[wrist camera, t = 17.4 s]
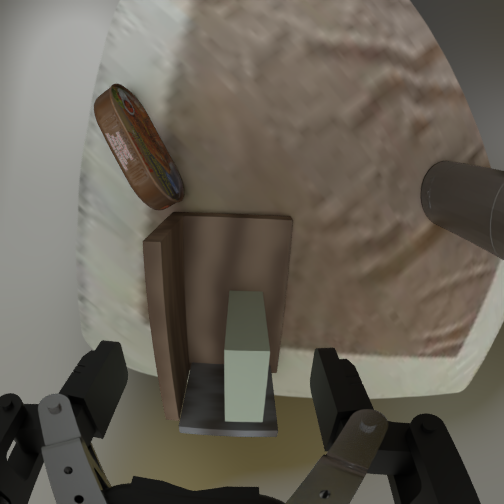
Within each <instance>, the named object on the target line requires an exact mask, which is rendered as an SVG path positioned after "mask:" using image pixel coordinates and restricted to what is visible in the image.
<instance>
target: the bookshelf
mask: <svg viewBox="0 0 504 504" xmlns="http://www.w3.org/2000/svg"><path fill="white" fill-rule="evenodd" d="M292 227H293V220H292V218H291V217H288V216H269V215H248V214H222V213H190V212H173V213H172V214H171V215H170V216H169V217H168V218H166V219H165V220H164V221H163V222H162V223H161V224H160V225H159V226H158V227H157V228H156V229H155V230H154V231H153V232H152V233H151V234H150V235H149V236H148V237H147V238H146V239H145V240H144V241H143V254H144V268H145V280H146V291H147V301H148V310H149V319H150V327H151V334H152V342H153V349H154V355H155V362H156V368H157V374H158V380H159V386H160V391H161V396H162V401H163V407H164V411H165V416H166V419H168V420H177V421H179V419H180V423H179V430H180V432H181V433H190V434H203V435H216V436H240V437H276V436H277V433H278V427H277V417H276V409H275V400H274V391H273V383H272V374H271V373H277V366H278V358H279V350H280V342H281V334H282V325H283V317H284V308H285V299H286V289H287V280H288V270H289V260H290V249H291V238H292ZM230 291H258V292H263V298H264V306H265V314H266V322H267V330H268V338H269V346H270V357H269V367H268V377H267V387H266V396H265V405H264V414H263V422H229V421H225V384H224V348H225V336H226V325H227V314H228V303H229V292H230ZM189 371H190V374H189ZM188 375H189V379H188ZM187 380H188V383H187ZM186 385H187V388H186ZM185 390H186V393H185ZM184 394H185V398H184ZM183 399H184V403H183ZM182 404H183V408H182ZM181 409H182V413H181ZM180 414H181V418H180Z"/></svg>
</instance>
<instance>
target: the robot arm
mask: <svg viewBox="0 0 504 504" xmlns="http://www.w3.org/2000/svg"><path fill="white" fill-rule="evenodd" d="M421 200H422V206H423V209H424V212H425V213H426V215H427V217H428V218H429V219H430V221H432V222H433V223H435V224H436V225H438V226H440V227H443V228H445V229H447V230H449V231H450V232H452V233H454V234H456V235H458V236H460V237H462V238H464V239H466V240H468V241H470V242H472V243H474V244H475V245H477V246H479V247H481V248H483V249H485V250H486V251H488V252H490V253H492V254H494V255H495V256H497V257H499V258H501V259H502V260H504V171H501V170H496V169H491V168H486V167H481V166H475V165H469V164H464V163H458V162H451V161H442V162H439V163H437V164H435V165H434V166H433V167H432V168H431V169H430V170H429V171H428V173H427V174H426V176H425V179H424V181H423V185H422V189H421ZM77 365H78V366H76V367H75V369H74V370H73V371H74V372H72V373H71V375H70V376H69V378H68V380H67V381H66V383H65V384H64V386H63V387H62V389H61V390H60V392H59V394H51V395H48V396H46V397H45V398H43V399H42V400H41V401H40V403H39V404H23V402H22V400H21V399H20V397H19V396H18V395H16V394H11V393H10V394H5V395H3V396H1V397H0V504H28V501H29V498H30V496H31V493H32V490H33V488H34V485H35V482H36V480H37V477H38V475H39V472H40V470H41V467H42V465H43V463H45V466H46V470H47V474H48V477H49V481H50V484H51V488H52V491H53V494H54V497H55V500H56V503H57V504H349V503H350V502H351V500H352V498H353V497H354V495H355V493H356V491H357V490H358V488H359V486H360V484H361V483H362V481H363V479H364V477H365V475H366V473H370V474H384V475H387V476H388V480H389V483H390V487H391V491H392V495H393V498H394V502H395V504H481V503H480V501H479V498H478V496H477V493H476V491H475V489H474V486H473V484H472V482H471V479H470V477H469V475H468V473H467V470H466V468H465V466H464V464H463V461H462V459H461V457H460V455H459V453H458V451H457V449H456V447H455V444H454V442H453V440H452V438H451V436H450V434H449V432H448V430H447V428H446V426H445V424H444V423H443V421H442V420H441V419H440V418H439V417H437V416H435V415H432V414H420V415H417V416H416V417H415V418H413V420H412V422H411V423H398V422H390V421H387V419H386V417H385V416H384V415H383V414H382V413H380V412H378V411H376V410H374V409H373V406H372V404H371V402H370V399H369V397H368V395H367V393H366V390H365V388H364V386H363V384H362V381H361V379H360V377H359V374H358V372H357V370H356V368H355V366H354V365H353V364H352V363H351V362H350V361H349V360H347V359H339V358H338V355H337V353H336V350H335V348H316V349H315V352H314V358H313V364H312V371H311V377H310V388H311V394H312V398H313V402H314V406H315V410H316V414H317V418H318V423H319V427H320V432H321V436H322V440H323V445H324V449H325V451H328V453H327V454H326V455H323V456H322V457H321V458H320V459H319V461H318V462H317V463H316V465H315V466H314V468H313V469H312V470H311V472H310V473H309V474H308V476H307V477H306V478H305V480H304V481H303V482H302V483H301V485H300V486H299V487H298V489H297V490H296V491H295V492H294V494H293V495H292V496H291V497H290V499H289V500H288V501H287V502H286V503H284V502H282V501H280V500H278V499H275V498H273V497H269V496H266V495H260V494H259V487H221V488H214V489H208V490H199V491H191V490H187V489H184V488H181V487H178V486H175V485H172V484H170V483H167V482H164V481H160V480H154V479H147V478H142V477H136V476H133V479H132V482H131V483H130V484H129V483H128V484H120V485H116V486H113V487H112V486H111V484H110V483H109V481H108V479H107V477H106V475H105V473H104V471H103V469H102V466H101V464H100V462H99V460H98V457H97V455H96V452H95V450H94V448H93V445H92V443H91V441H92V438H93V437H97V438H101V439H103V438H104V435H105V433H106V430H107V428H108V426H109V423H110V421H111V419H112V416H113V414H114V412H115V409H116V407H117V405H118V402H119V400H120V398H121V395H122V393H123V391H124V388H125V386H126V384H127V380H128V371H127V367H126V363H125V359H124V355H123V351H122V347H121V344H120V343H119V342H113V341H104V340H103V341H101V342H100V344H99V345H98V347H97V348H96V350H95V351H92V350H91V351H90V352H89V353H87V354H86V355H84V356H83V357H82V359H81V360H80V361H79V363H78V364H77ZM13 440H14V441H15V442H16V444H15V446H14V448H13V450H12V452H11V454H10V456H9V459H8V461H7V458H6V455H7V451H8V450H9V448H10V446H11V444H12V442H13Z"/></svg>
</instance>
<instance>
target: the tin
mask: <svg viewBox="0 0 504 504" xmlns="http://www.w3.org/2000/svg"><path fill="white" fill-rule="evenodd" d="M94 113H95V117H96V120H97V123H98V125H99V127H100V129H101V131H102V133H103V135H104V137H105V139H106V141H107V143H108V145H109V147H110V149H111V151H112V153H113V155H114V157H115V159H116V160H117V162H118V164H119V166H120V168H121V169H122V171H123V173H124V175H125V177H126V178H127V180H128V182H129V184H130V185H131V187H132V189H133V190H134V192H135V193H136V194H137V196H138V197H139V198H140V199H141V200H142V201H143V202H144V203H145V204H146V205H148V206H149V207H151V208H153V209H155V210H163V209H166V208H168V207H169V206H171V205H173V204H175V203H176V202H180V201H182V199H183V197H184V189H183V184H182V180H181V177H180V175H179V172H178V170H177V168H176V166H175V164H174V162H173V160H172V159H171V157H170V155H169V153H168V151H167V150H166V148H165V146H164V144H163V142H162V140H161V139H160V137H159V135H158V133H157V131H156V129H155V127H154V126H153V124H152V122H151V120H150V118H149V116H148V114H147V113H146V111H145V109H144V108H143V106H142V105H141V104H140V102H139V101H138V100H137V98H136V97H135V96H134V95H133V94H132V93H131V92H130V91H129V90H128V89H126V88H125V87H124V86H122V85H120V84H113V85H112V86H111V87H110V88H109V89H108V90H106V91H105V92H104V93H103V94H101V95H100V96H99V97H98V98H97V99H96V101H95V104H94Z"/></svg>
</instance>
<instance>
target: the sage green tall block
mask: <svg viewBox="0 0 504 504" xmlns="http://www.w3.org/2000/svg"><path fill="white" fill-rule="evenodd" d="M269 357H270V346H269V338H268V330H267V322H266V314H265V306H264V298H263V292H258V291H230V292H229V303H228V314H227V325H226V336H225V348H224V384H225V421H229V422H263V414H264V405H265V396H266V387H267V377H268V367H269Z"/></svg>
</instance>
